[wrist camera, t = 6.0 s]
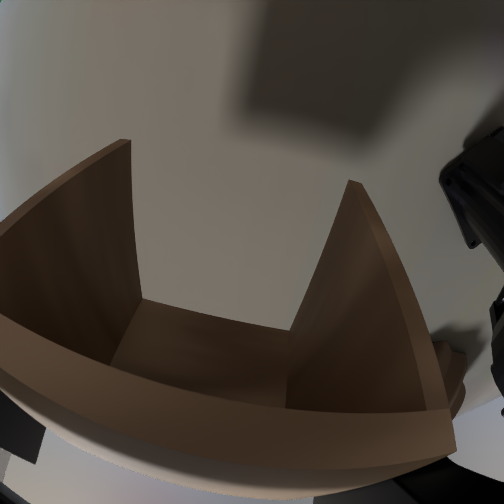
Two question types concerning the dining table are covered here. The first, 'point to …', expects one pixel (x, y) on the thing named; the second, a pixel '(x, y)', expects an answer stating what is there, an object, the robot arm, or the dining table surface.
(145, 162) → the dining table surface
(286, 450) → the brown wooden open box
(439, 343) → the decorative dome
